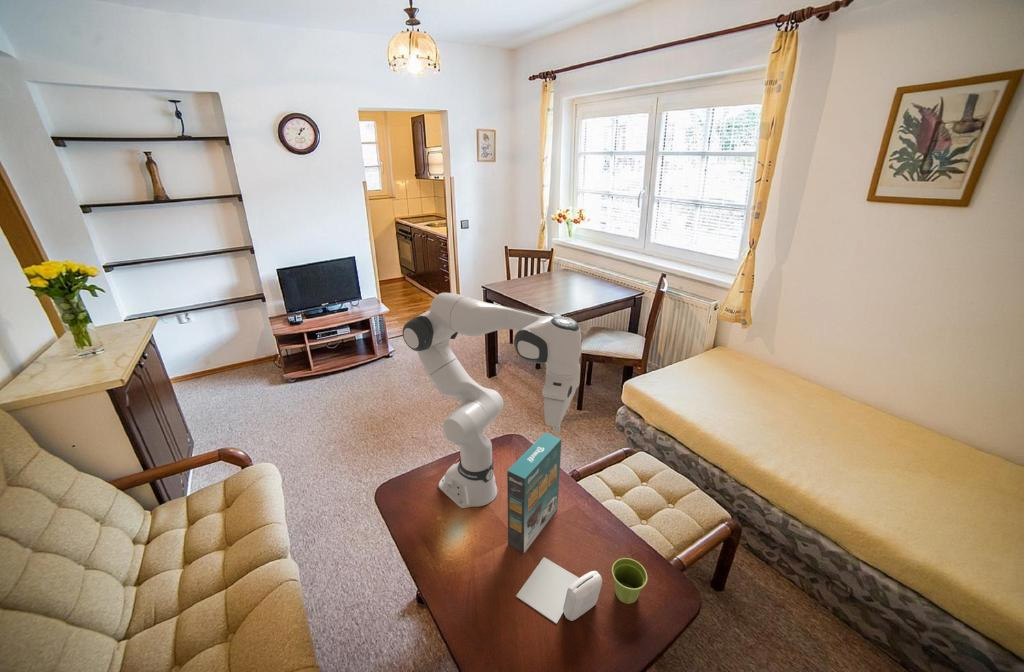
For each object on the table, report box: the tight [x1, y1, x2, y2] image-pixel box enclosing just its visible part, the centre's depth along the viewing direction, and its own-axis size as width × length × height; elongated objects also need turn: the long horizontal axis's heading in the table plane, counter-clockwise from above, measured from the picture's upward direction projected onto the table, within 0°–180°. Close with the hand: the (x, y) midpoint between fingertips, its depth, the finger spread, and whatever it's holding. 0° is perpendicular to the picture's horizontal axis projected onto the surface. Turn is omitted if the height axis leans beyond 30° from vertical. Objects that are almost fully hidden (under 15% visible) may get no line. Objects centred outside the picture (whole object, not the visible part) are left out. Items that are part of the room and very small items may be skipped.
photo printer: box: [563, 570, 603, 622], centre depth 111 cm, size 10×4×12 cm, turn 123°
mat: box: [515, 557, 580, 625], centre depth 119 cm, size 13×15×1 cm
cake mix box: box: [506, 431, 562, 555], centre depth 133 cm, size 22×6×30 cm, turn 146°
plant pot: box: [611, 557, 648, 605], centre depth 116 cm, size 9×9×9 cm
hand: (561, 421), depth 115 cm, fingers open, 8 cm apart
